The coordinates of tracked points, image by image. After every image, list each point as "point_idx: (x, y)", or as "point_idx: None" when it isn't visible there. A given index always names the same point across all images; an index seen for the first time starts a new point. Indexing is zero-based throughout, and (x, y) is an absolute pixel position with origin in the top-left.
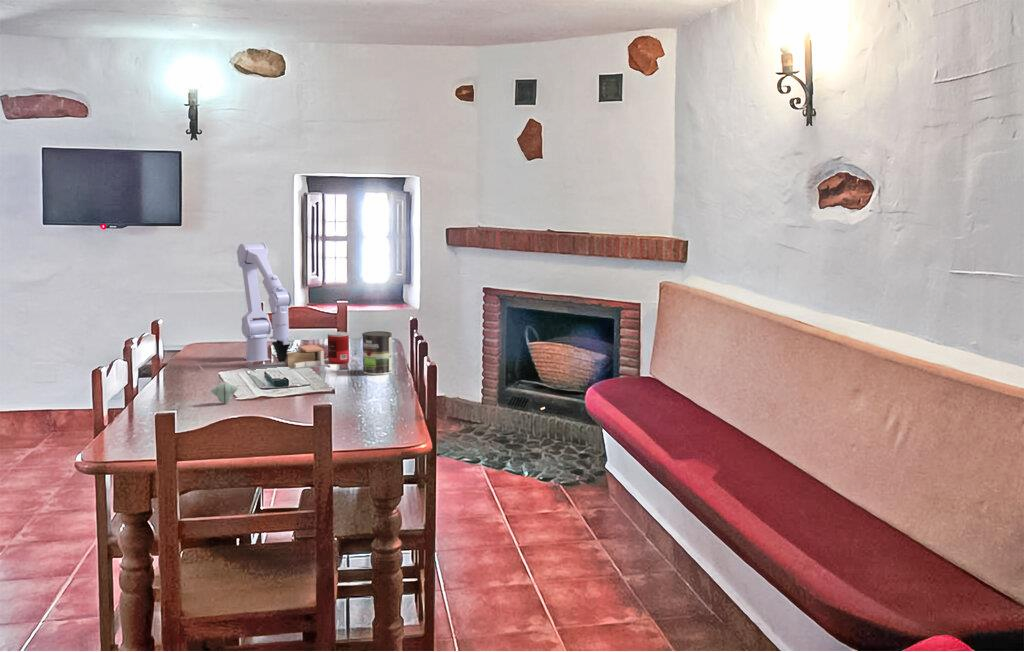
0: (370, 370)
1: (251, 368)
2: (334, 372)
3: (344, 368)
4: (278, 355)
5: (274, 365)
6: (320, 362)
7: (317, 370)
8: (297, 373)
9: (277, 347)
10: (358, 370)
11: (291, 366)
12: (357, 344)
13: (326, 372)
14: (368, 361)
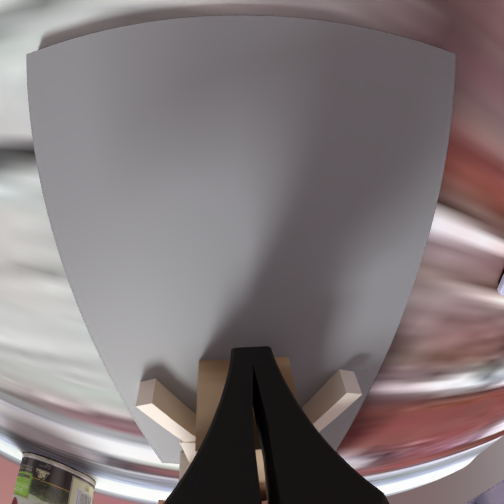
0: (21, 463)
1: (264, 30)
2: (52, 432)
3: (127, 466)
4: (219, 402)
5: (309, 288)
6: (186, 463)
7: (96, 420)
8: (20, 343)
9: (170, 497)
10: (87, 467)
11: (197, 375)
12: (451, 461)
13: (51, 421)
14: (18, 483)
